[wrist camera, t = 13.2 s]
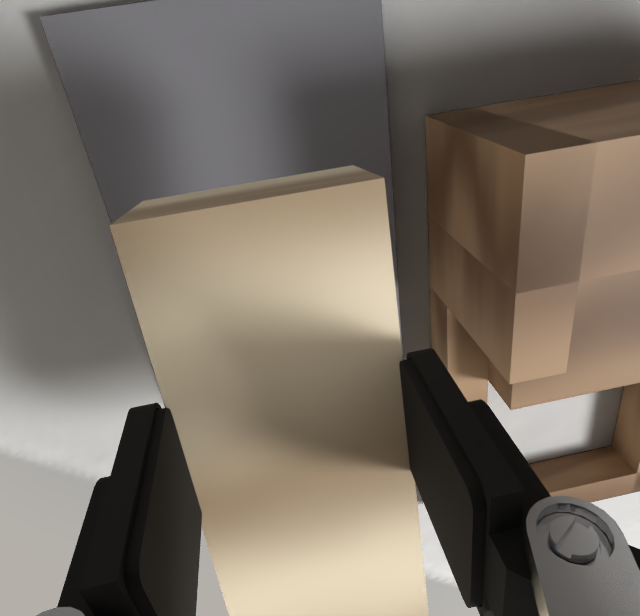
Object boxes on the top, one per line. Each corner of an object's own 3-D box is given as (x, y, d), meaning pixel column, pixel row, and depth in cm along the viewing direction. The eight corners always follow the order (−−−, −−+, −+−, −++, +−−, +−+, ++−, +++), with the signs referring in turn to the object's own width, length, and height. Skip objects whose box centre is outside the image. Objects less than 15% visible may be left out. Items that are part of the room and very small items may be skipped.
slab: (143, 200, 12) (109, 225, 9) (353, 164, 12) (384, 177, 9) (247, 576, 16) (246, 672, 13) (399, 542, 16) (430, 628, 13)
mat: (45, 17, 15) (39, 17, 14) (374, -30, 15) (379, -33, 15) (180, 406, 22) (179, 416, 22) (399, 363, 23) (403, 370, 22)
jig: (425, 115, 18) (525, 154, 12) (735, 64, 19) (979, 75, 13) (435, 503, 28) (492, 634, 22) (636, 458, 29) (746, 571, 22)
